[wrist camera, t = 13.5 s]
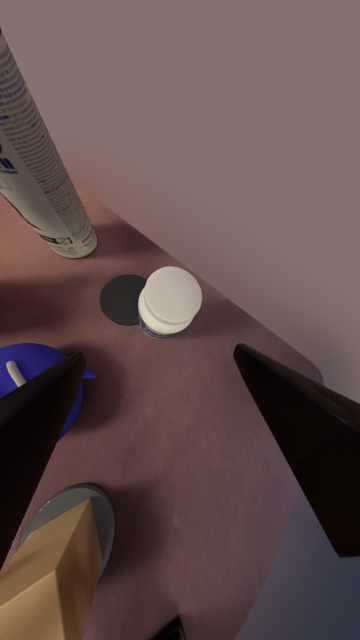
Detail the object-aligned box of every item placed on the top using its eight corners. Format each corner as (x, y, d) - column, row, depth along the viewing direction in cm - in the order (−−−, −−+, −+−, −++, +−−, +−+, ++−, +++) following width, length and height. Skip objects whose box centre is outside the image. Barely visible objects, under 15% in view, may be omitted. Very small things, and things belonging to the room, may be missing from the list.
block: (103, 560, 12) (71, 682, 8) (39, 606, 11) (-47, 787, 6) (90, 496, 13) (55, 569, 9) (30, 532, 12) (-50, 641, 7)
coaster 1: (125, 560, 13) (124, 568, 13) (25, 636, 11) (18, 649, 10) (104, 466, 15) (102, 469, 14) (13, 517, 13) (7, 523, 12)
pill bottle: (140, 341, 19) (139, 333, 9) (137, 302, 20) (133, 257, 10) (180, 336, 20) (214, 324, 11) (175, 300, 21) (202, 260, 12)
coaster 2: (164, 315, 21) (164, 314, 20) (109, 333, 19) (108, 332, 18) (147, 271, 22) (147, 269, 22) (95, 283, 20) (93, 281, 20)
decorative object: (83, 430, 10) (-74, 528, 8) (117, 403, 16) (26, 458, 14) (41, 311, 12) (-90, 372, 11) (84, 325, 18) (2, 366, 16)
